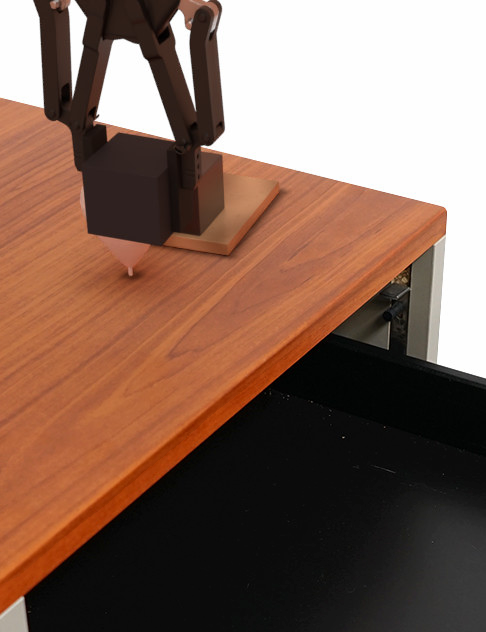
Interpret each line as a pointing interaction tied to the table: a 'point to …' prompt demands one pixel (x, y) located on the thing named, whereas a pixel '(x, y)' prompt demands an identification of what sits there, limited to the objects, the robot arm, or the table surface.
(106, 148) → the black cube
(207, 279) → the table surface
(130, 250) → the spinning top
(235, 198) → the board
